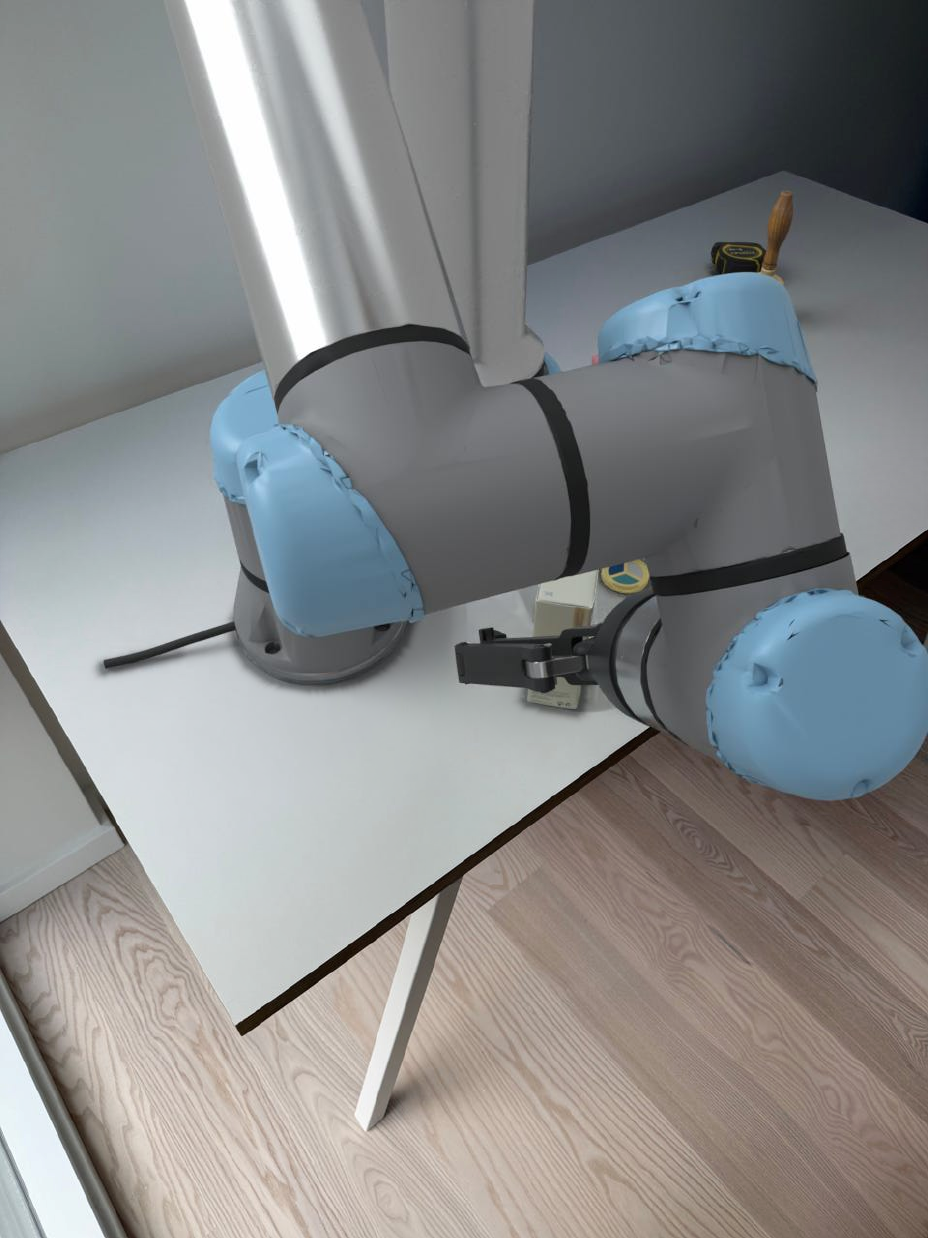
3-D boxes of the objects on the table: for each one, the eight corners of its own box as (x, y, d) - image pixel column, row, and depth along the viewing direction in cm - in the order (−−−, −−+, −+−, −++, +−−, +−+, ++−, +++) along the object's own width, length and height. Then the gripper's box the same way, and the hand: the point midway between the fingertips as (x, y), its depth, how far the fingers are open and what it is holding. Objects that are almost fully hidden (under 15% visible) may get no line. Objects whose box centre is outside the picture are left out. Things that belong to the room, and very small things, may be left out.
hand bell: (721, 332, 112) (751, 204, 100) (724, 300, 118) (753, 174, 106) (788, 341, 111) (827, 212, 99) (789, 307, 116) (826, 181, 104)
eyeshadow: (600, 590, 82) (606, 552, 79) (602, 553, 86) (608, 514, 82) (648, 595, 82) (657, 557, 78) (648, 557, 85) (656, 519, 82)
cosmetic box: (577, 712, 73) (593, 612, 64) (525, 703, 74) (533, 603, 65) (586, 653, 77) (602, 551, 68) (536, 645, 78) (546, 543, 69)
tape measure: (757, 264, 124) (764, 237, 121) (766, 288, 120) (773, 261, 117) (708, 263, 124) (713, 236, 122) (715, 287, 120) (721, 260, 117)
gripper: (451, 771, 44) (418, 708, 65) (915, 698, 47) (741, 660, 68) (432, 622, 44) (405, 607, 65) (902, 557, 47) (730, 563, 68)
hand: (577, 634), depth 67 cm, fingers open, 13 cm apart
